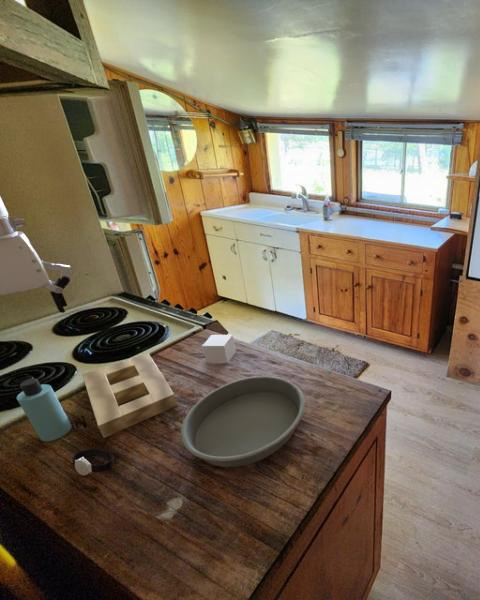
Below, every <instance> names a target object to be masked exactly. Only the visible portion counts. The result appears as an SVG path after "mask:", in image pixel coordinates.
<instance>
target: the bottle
mask: <svg viewBox="0 0 480 600" xmlns="http://www.w3.org/2000/svg"><path fill="white" fill-rule="evenodd" d="M19 388H20V389H21V390H22V391H21V392H20V393H18V395H17V396H16V400H17V402H18V404H19V405H20V407H21V409H22V411H23V412H24V414H25V416H26V417H27V419H28V421H29V422H30V424H31V426H32V428H33V429H34V431H35V432H36V434H37V436H38V437H39V439H40V441H42V442H52V441H55V440H58V439H60V438H62V437H64V436H65V435H67V434H68V433H69V432H70V431H71V430H72V424H71V422H70V419H69V418H68V415H67V414H66V413H65V410H64V408H63V407H62V404H61V403H60V401H59V399H58V397H57V395H56V393H55V391H54V389H53V387H52V386H51V385H50V384H46V383H45V384H44V383H43V384H41V383H40V381H39V380H38V379H37V378H29V379H26V380H24V381H22V382H20V383H19Z"/></svg>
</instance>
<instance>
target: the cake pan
mask: <svg viewBox="0 0 480 600" xmlns="http://www.w3.org/2000/svg"><path fill="white" fill-rule="evenodd" d="M305 405H306V403H305V397H304V394H303V392H302V391H301V389H300V388H299V387H298V386H297V384H295V383H293V382H291V381H289V380H287V379H285V378H281V377H278V376H270V375H269V376H268V375H262V376H261V375H260V376H251V377H244V378H240V379H237V380H235V381H230V382H228V383H225V384H223V385H222V386H219V387H217V388H215V389H214V390H212V391H211V392H209V393H207V394H206V395H205V396H203V397H201V399H199V400H198V401H197V402H196V403H195V404H194V405H193V406H192V407H191V408H190V409H189V411H188V412H187V414H186V415H185V417H184V419H183V421H182V424H181V428H180V440H181V443H182V445H183V447H184V448H185V449H186V450H187V451H188V453H190V454H191V455H193V456H195V457H197V458H199V459H202V460H203V461H204V462H206V463H207V464H210V465H212V466H215V467H221V468H238V467H242V466H243V467H244V466H247V465H251V464H253V463H256V462H259V461H261V460H263V459H266V458H268V457H269V456H271V455H273V454H274V453H276V452H277V451H278V450H280V449H281V448H283V446H284V445H285V444H286V443H287V442H288V441H289V440H290V439H291V437H292V436H293V434H294V432H295V430H296V429H297V427H298V424H299V423H300V420H301V419H302V417H303V415H304V411H305Z"/></svg>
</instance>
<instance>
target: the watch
mask: <svg viewBox="0 0 480 600" xmlns="http://www.w3.org/2000/svg"><path fill="white" fill-rule="evenodd" d="M91 457H92V458H93V457H98V458H99V457H100V458H104V459H106V460H109V461H108V462H106V463H102V464H97V465H96V464H95V465H94V464H91V463H90V461H89V460H88V459H86V458H91ZM71 458H72V464H73V466H74V468H75V470H76V472H77V473H78V474H79V475H81V476H86V475H88V474H92V473H104V472H106V471H108V470H110V469H112V467H113V466H114V464H115V461H114V455H113V453H112V452H111V451H109V450H107V449H99V448H92V449H91V448H90V449H85V450H81V451H78V452H76V453H75V454H73V455H72V457H71Z"/></svg>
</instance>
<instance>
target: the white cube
mask: <svg viewBox="0 0 480 600" xmlns="http://www.w3.org/2000/svg"><path fill="white" fill-rule="evenodd" d="M201 348H202V352H203V354H204V360H205V363H206V364H229V363H230V361H231V360H232V359H233V357H234V355H235V354H236V352H237V350H236V345H235V340H234V335H233V334H211V335H210V336H209V337H208V338H207V339H206V341H205V342H204V343H203V344H202V345H201Z"/></svg>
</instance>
